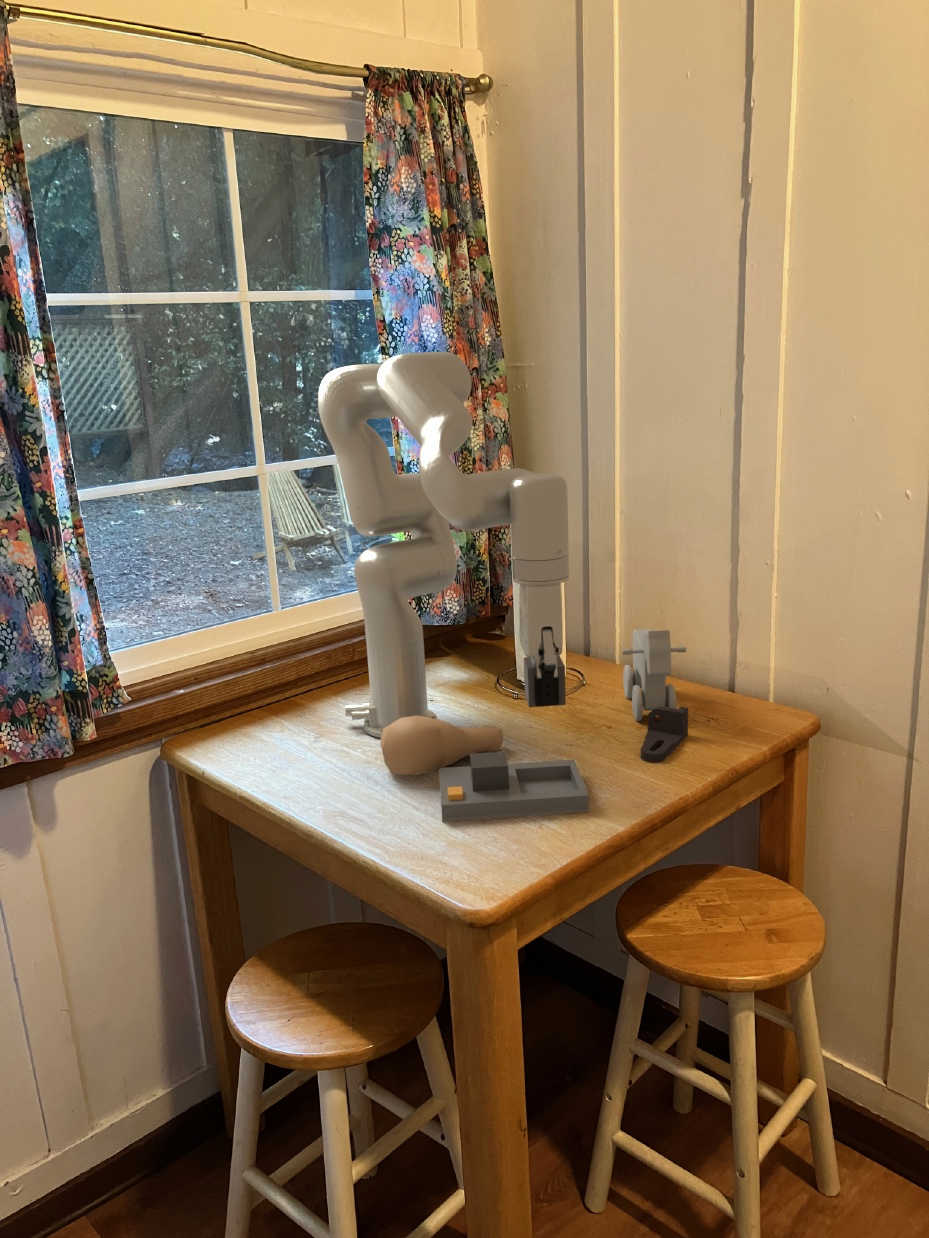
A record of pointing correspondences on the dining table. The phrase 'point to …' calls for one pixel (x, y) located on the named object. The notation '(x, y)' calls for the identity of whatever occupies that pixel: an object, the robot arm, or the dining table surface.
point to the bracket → (664, 733)
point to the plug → (531, 673)
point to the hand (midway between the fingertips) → (544, 696)
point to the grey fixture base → (510, 789)
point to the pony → (650, 671)
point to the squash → (433, 743)
